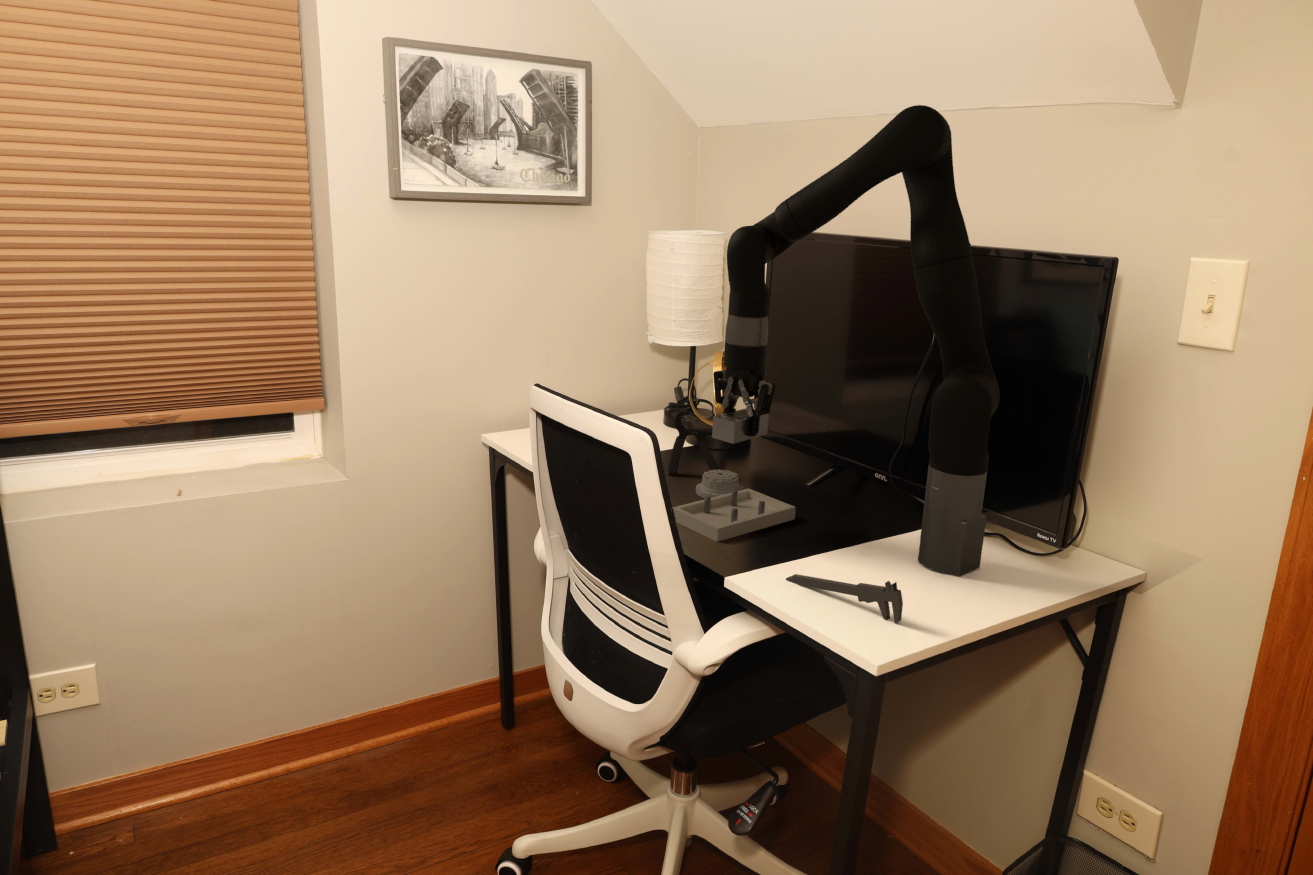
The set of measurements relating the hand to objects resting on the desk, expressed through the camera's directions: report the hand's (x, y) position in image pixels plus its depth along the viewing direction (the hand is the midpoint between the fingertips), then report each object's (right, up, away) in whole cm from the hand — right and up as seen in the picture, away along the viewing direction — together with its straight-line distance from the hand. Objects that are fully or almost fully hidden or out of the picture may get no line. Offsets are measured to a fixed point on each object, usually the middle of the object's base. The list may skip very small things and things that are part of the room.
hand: (740, 431), depth 159 cm
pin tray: (-1, -17, +7) cm, 18 cm away
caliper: (+13, -27, -25) cm, 39 cm away
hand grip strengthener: (-7, -10, +31) cm, 34 cm away
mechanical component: (-2, -13, +21) cm, 25 cm away
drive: (0, -1, 0) cm, 1 cm away
